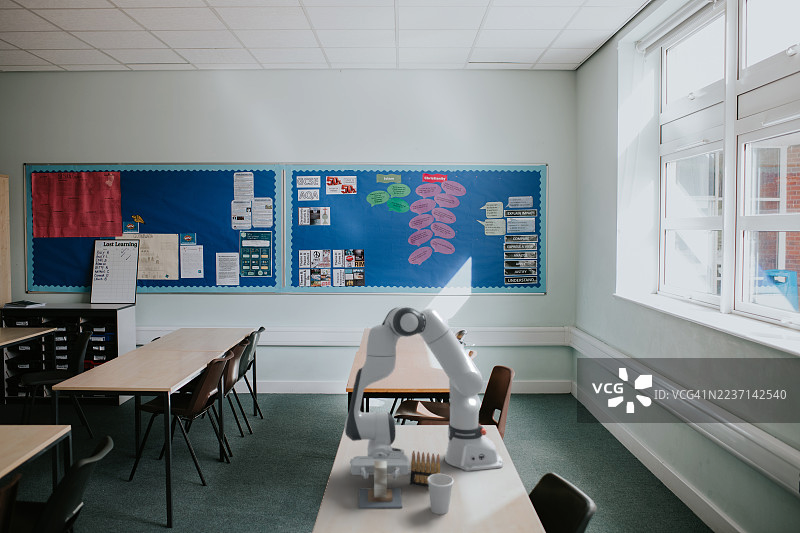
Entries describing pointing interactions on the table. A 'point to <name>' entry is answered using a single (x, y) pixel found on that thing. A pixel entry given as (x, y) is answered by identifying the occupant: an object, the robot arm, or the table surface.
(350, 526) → the table surface
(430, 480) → the dixie cup
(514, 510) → the table surface
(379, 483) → the pale pillar on plinth
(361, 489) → the slate mat
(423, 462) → the ammunition clip
